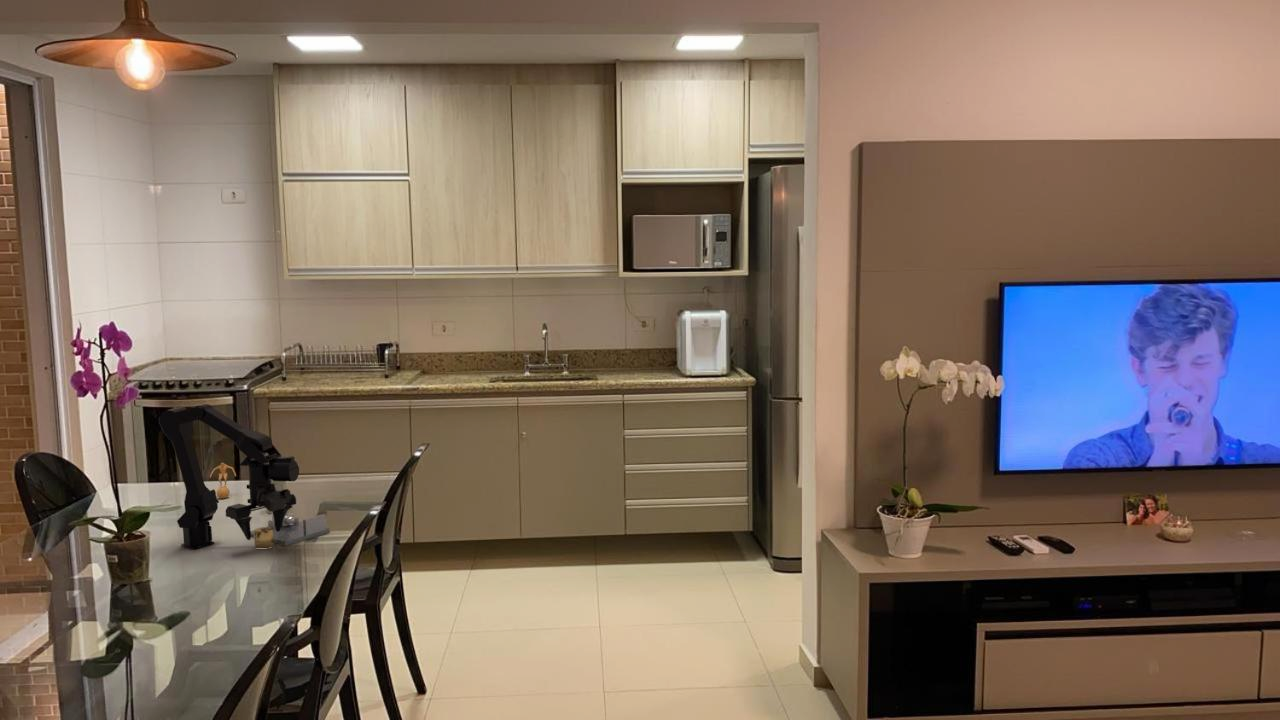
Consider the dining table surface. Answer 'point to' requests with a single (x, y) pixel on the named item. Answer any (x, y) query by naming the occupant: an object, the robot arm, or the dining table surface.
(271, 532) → the cylinder
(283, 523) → the ram
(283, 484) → the skincare box
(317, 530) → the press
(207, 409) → the robot arm
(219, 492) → the figurine
